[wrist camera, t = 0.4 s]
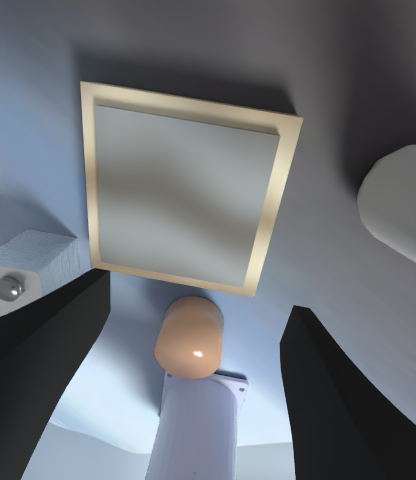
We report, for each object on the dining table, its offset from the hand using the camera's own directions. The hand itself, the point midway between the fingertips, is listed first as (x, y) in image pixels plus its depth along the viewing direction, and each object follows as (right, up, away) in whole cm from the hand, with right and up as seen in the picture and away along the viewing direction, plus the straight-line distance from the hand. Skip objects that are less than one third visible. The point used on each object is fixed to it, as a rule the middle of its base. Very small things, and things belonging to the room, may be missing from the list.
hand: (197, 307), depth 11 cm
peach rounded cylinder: (-1, -4, +14) cm, 14 cm away
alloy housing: (-12, 0, +13) cm, 18 cm away
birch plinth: (-1, +6, +9) cm, 10 cm away
